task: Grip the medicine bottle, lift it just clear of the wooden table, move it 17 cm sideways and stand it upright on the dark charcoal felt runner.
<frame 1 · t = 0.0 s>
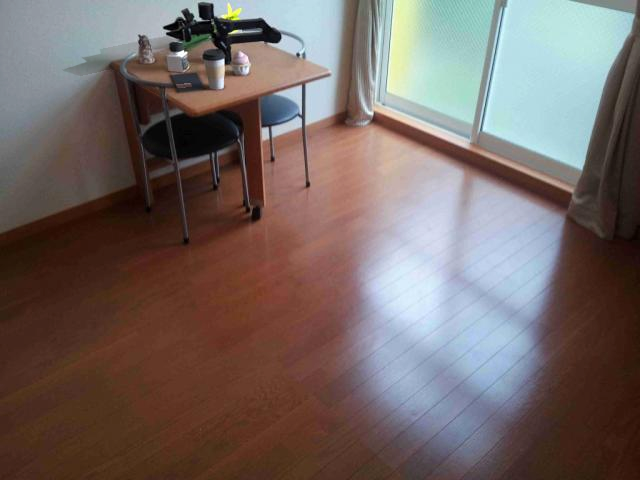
hand: (164, 30, 250), 17 cm above the table, tool horizontal, fingers open, 9 cm apart
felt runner: (187, 82, 246), on the table
daffodil flowers: (211, 46, 286), on the table
medicine bottle: (179, 69, 258), on the table
coffee cup: (216, 87, 242), on the table
cupcake: (241, 73, 256), on the table
figurine: (146, 61, 266), on the table
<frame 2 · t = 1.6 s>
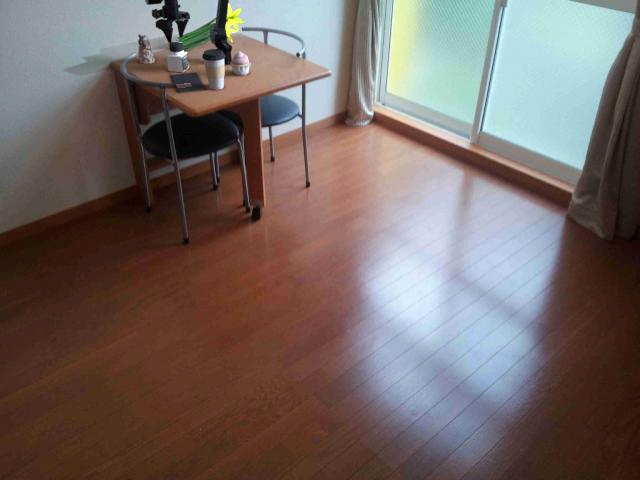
hand: (175, 40, 251), 13 cm above the table, tool pointing down, fingers open, 9 cm apart
nothing on the table moved.
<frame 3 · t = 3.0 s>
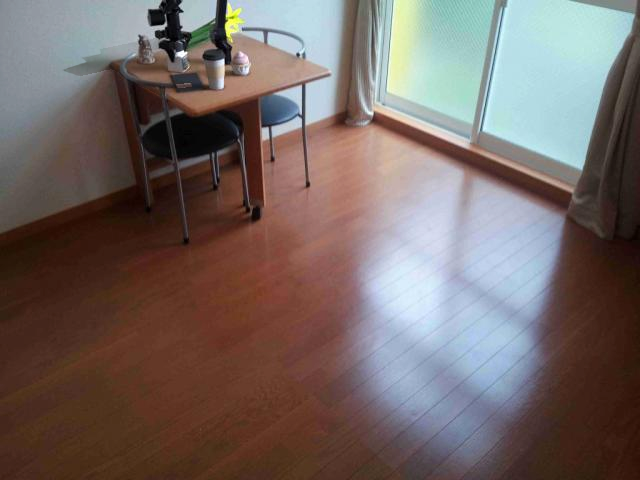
hand: (177, 59, 256), 4 cm above the table, tool pointing down
medicine bottle: (179, 69, 259), on the table, touching gripper
everything else where it was.
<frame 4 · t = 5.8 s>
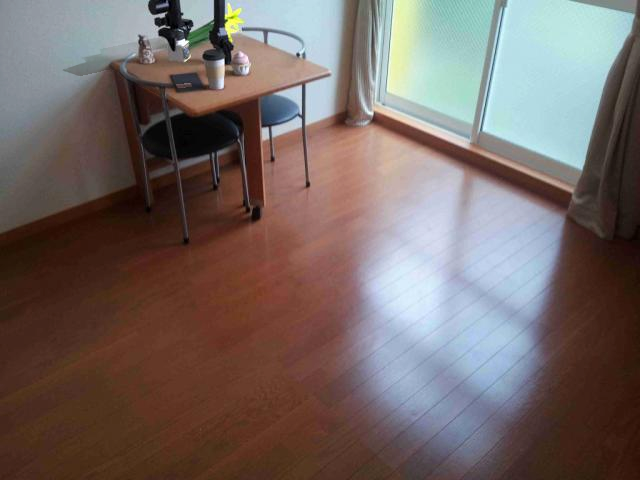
hand: (178, 48, 245), 12 cm above the table, tool pointing down, fingers closed on medicine bottle, 7 cm apart
medicine bottle: (180, 59, 248), point 7 cm above the table, touching gripper
everything else where it was.
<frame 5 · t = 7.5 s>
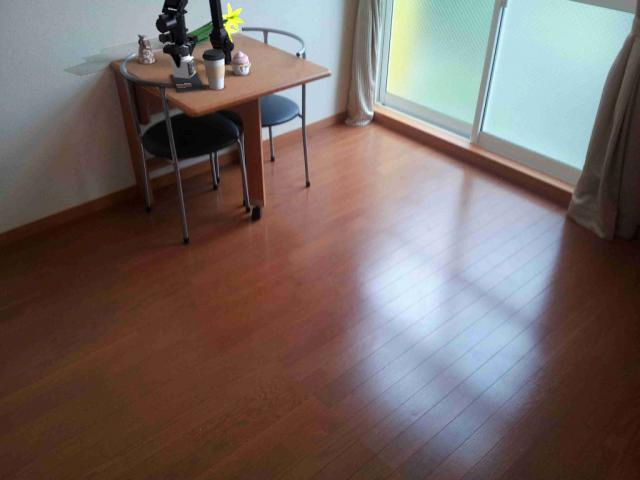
hand: (183, 64, 241), 8 cm above the table, tool pointing down, fingers closed on medicine bottle, 7 cm apart
medicine bottle: (184, 75, 244), point 3 cm above the table, touching gripper
everything else where it was.
when the fingers open (5 cm above the table, at t = 8.8 s): medicine bottle stays where it is, resting on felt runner.
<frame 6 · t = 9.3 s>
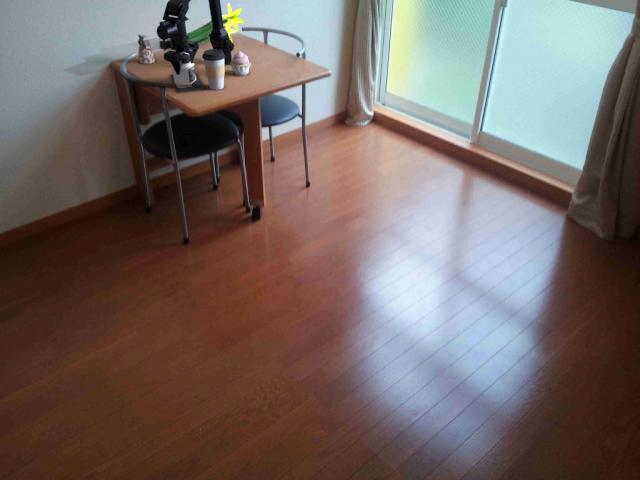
hand: (183, 71, 243), 5 cm above the table, tool pointing down, fingers open, 9 cm apart
medicine bottle: (185, 82, 246), resting on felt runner
everything else where it was.
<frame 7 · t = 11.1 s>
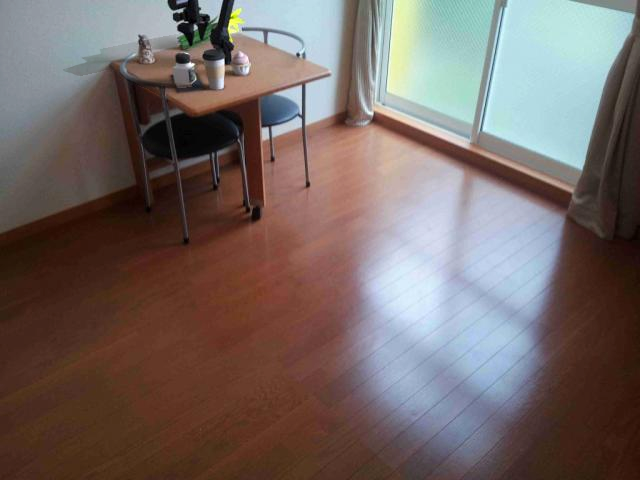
hand: (196, 42, 249), 13 cm above the table, tool pointing down, fingers open, 9 cm apart
nothing on the table moved.
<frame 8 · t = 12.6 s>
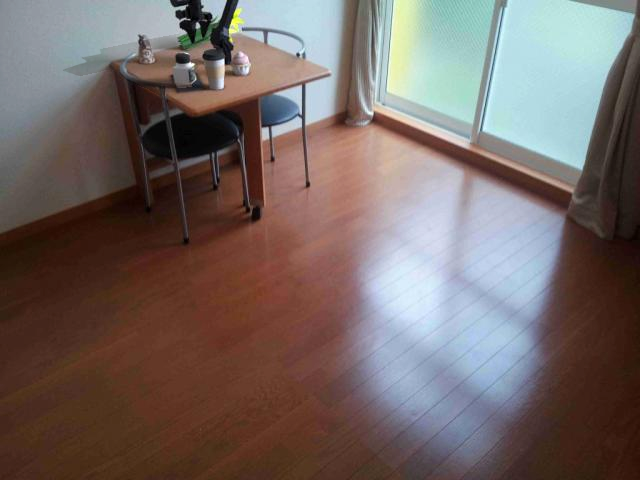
hand: (198, 40, 251), 13 cm above the table, tool pointing down, fingers open, 9 cm apart
nothing on the table moved.
at the end: medicine bottle inside the target area on the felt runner (0.9 cm from its centre), point 0.2 cm above the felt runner's base; medicine bottle tilted 0°; medicine bottle moved 16.9 cm from its start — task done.
